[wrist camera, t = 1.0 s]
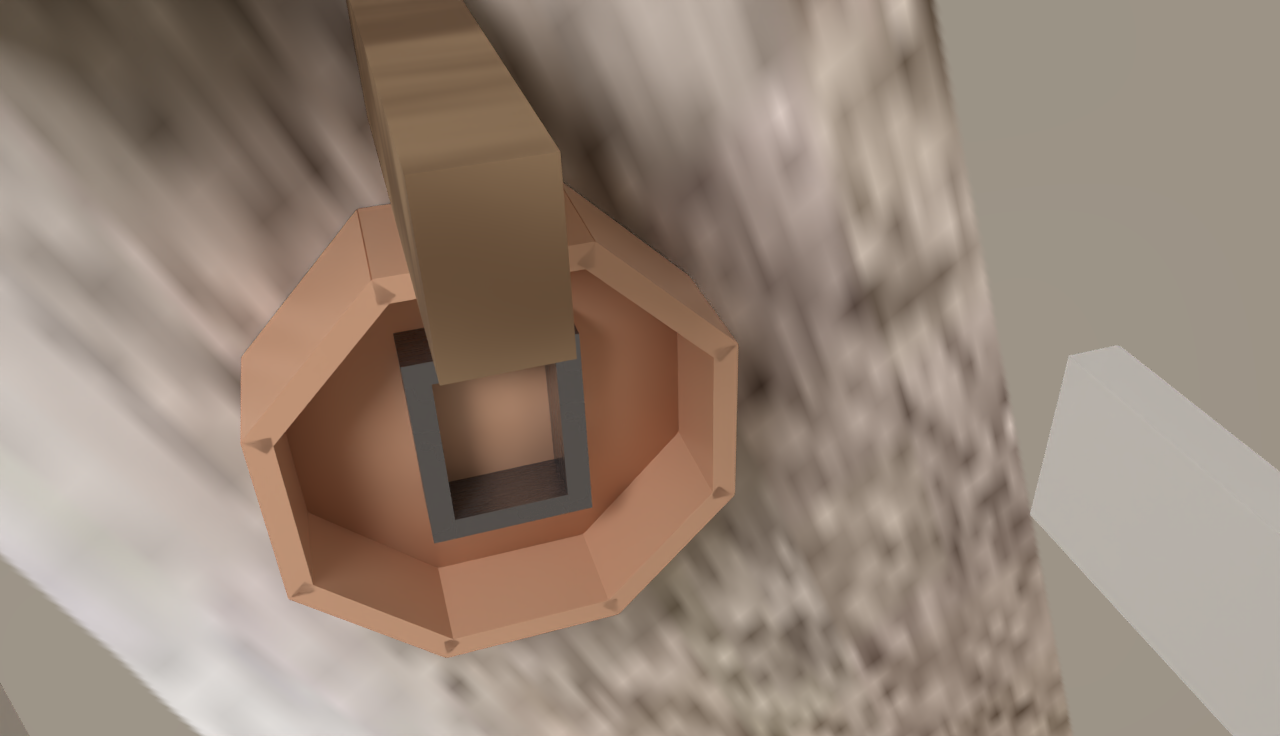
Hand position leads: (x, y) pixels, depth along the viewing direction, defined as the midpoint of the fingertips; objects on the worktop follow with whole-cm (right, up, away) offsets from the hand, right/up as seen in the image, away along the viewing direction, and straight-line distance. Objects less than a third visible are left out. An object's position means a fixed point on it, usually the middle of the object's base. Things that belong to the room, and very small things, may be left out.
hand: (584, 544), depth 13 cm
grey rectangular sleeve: (-5, +1, +23) cm, 24 cm away
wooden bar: (-6, +11, +16) cm, 21 cm away
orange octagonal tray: (-5, +1, +23) cm, 24 cm away
